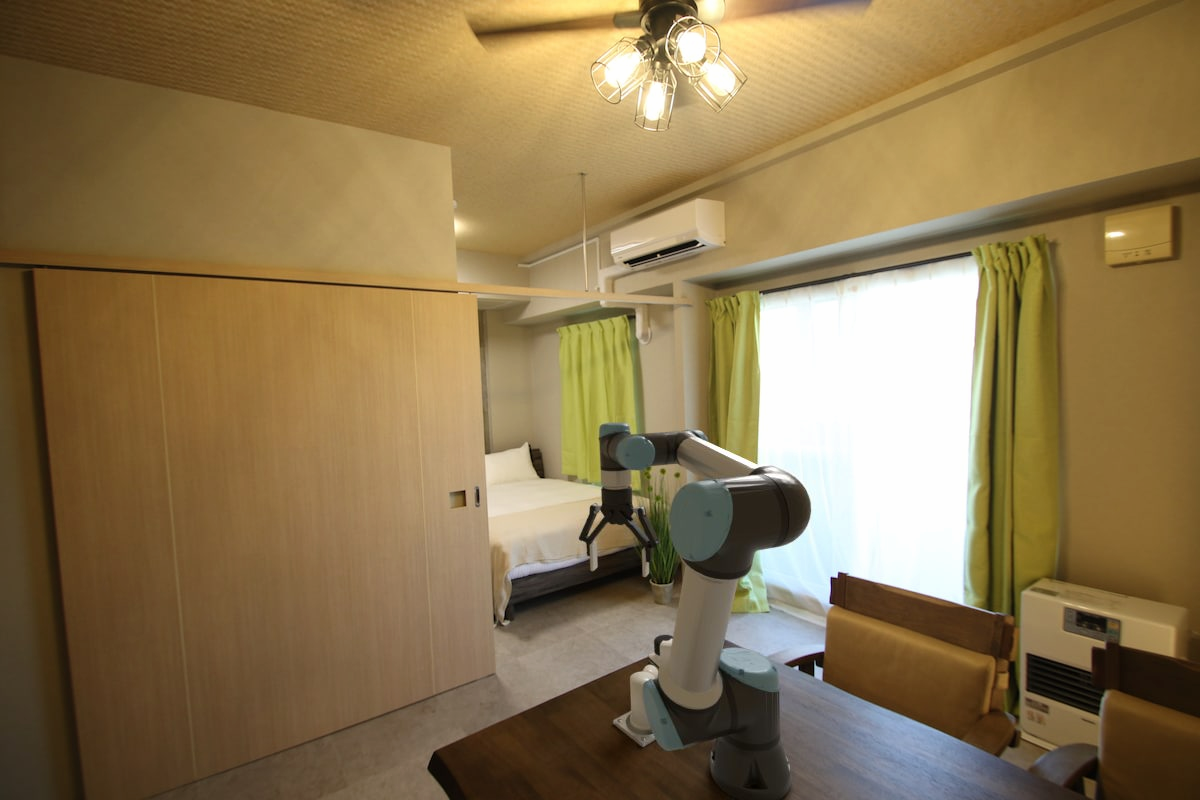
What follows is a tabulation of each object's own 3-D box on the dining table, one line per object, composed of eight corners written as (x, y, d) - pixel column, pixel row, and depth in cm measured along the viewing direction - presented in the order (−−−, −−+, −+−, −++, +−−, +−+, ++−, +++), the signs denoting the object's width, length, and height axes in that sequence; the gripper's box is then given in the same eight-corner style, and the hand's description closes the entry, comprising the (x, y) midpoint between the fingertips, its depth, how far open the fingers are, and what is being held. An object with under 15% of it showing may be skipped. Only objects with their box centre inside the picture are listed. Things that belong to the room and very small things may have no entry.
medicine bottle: (648, 681, 135) (646, 635, 135) (671, 674, 138) (670, 629, 138) (662, 696, 129) (661, 648, 128) (687, 687, 132) (685, 641, 131)
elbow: (653, 733, 114) (651, 688, 114) (626, 727, 116) (624, 683, 116) (665, 708, 123) (663, 666, 122) (639, 703, 125) (638, 661, 125)
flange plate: (676, 727, 117) (676, 723, 117) (642, 747, 111) (642, 743, 111) (646, 706, 125) (645, 702, 125) (613, 723, 119) (613, 719, 119)
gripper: (670, 485, 127) (673, 571, 128) (576, 481, 137) (579, 561, 137) (661, 491, 120) (664, 583, 121) (563, 486, 130) (567, 571, 130)
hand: (619, 572), depth 129 cm, fingers open, 13 cm apart
